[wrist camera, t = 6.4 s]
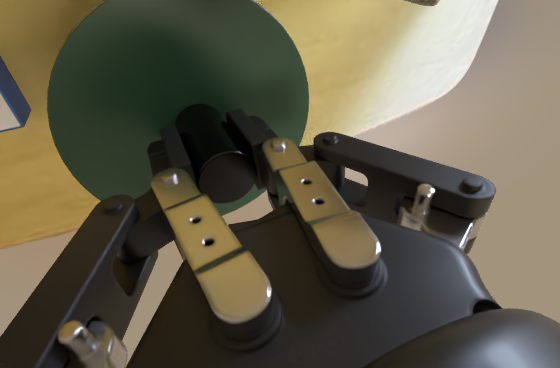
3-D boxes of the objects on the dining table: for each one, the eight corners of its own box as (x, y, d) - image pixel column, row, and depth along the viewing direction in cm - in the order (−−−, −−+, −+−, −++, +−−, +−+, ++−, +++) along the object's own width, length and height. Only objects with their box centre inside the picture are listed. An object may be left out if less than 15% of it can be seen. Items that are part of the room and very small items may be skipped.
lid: (-21, 1, 11) (-100, 37, 7) (295, -40, 15) (379, -33, 10) (116, 239, 19) (121, 330, 15) (303, 176, 22) (354, 233, 18)
